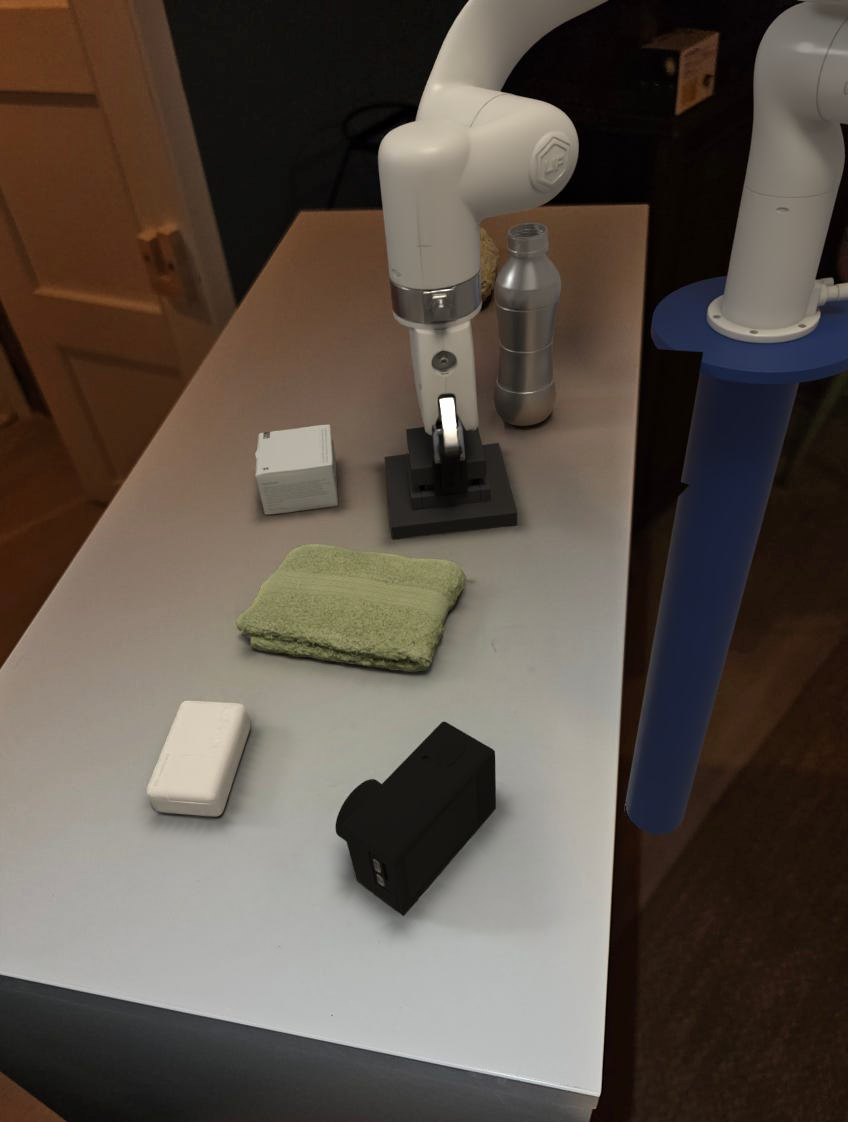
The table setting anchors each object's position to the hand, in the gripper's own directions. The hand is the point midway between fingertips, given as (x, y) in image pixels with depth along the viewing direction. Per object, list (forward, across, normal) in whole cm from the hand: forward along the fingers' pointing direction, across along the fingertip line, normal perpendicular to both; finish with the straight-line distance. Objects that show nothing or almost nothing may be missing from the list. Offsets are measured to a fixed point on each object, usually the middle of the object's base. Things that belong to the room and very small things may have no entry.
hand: (446, 468), depth 84 cm
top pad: (+1, 0, 0) cm, 1 cm away
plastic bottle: (+3, +12, -10) cm, 16 cm away
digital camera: (+3, -39, +6) cm, 40 cm away
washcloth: (+3, -16, +10) cm, 19 cm away
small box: (+3, +4, +15) cm, 16 cm away
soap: (+3, -31, +22) cm, 38 cm away
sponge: (+3, +49, -6) cm, 49 cm away
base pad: (+3, 0, 0) cm, 3 cm away
